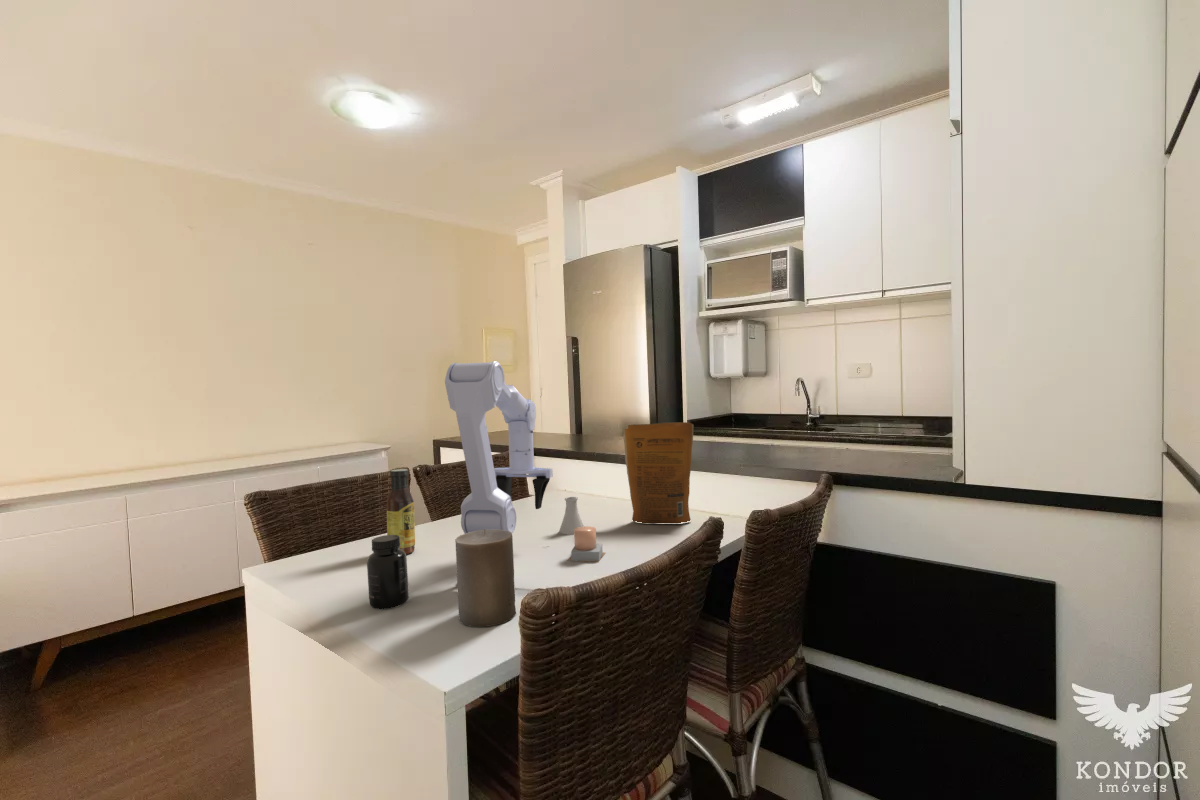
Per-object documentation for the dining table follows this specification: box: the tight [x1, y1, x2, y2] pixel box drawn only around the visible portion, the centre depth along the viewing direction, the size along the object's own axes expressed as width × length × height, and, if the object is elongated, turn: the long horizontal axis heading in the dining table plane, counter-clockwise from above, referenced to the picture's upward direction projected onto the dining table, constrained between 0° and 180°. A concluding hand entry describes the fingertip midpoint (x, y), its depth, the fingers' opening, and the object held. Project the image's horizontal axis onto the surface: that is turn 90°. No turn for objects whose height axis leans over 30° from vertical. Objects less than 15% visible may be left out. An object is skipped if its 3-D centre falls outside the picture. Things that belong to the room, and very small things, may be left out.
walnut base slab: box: [566, 552, 607, 564], centre depth 121 cm, size 7×7×2 cm
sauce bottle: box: [386, 468, 416, 555], centre depth 133 cm, size 7×6×20 cm
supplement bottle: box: [366, 534, 410, 610], centre depth 102 cm, size 7×7×12 cm
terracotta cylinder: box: [573, 525, 597, 551], centre depth 121 cm, size 5×5×4 cm
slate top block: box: [570, 543, 604, 562], centre depth 121 cm, size 6×6×2 cm
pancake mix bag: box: [622, 421, 694, 523], centre depth 153 cm, size 7×19×28 cm, turn 79°
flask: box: [558, 496, 585, 536], centre depth 143 cm, size 7×7×10 cm
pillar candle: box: [454, 529, 517, 628], centre depth 95 cm, size 10×10×15 cm
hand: (523, 507), depth 131 cm, fingers open, 7 cm apart
